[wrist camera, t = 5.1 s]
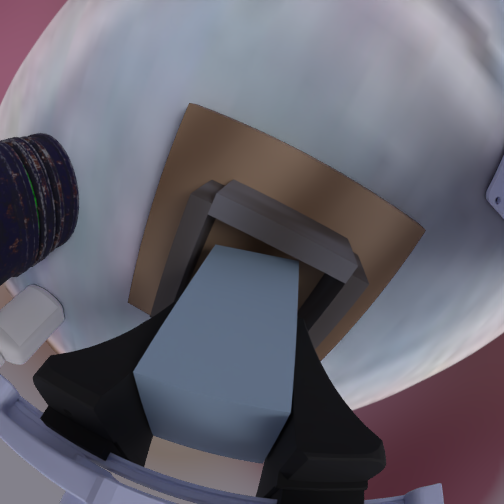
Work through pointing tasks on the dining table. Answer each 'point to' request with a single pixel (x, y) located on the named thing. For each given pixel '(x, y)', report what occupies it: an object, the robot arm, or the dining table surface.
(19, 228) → the storage jar
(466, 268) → the dining table surface
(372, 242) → the socket
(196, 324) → the peg
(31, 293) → the eye dropper bottle
